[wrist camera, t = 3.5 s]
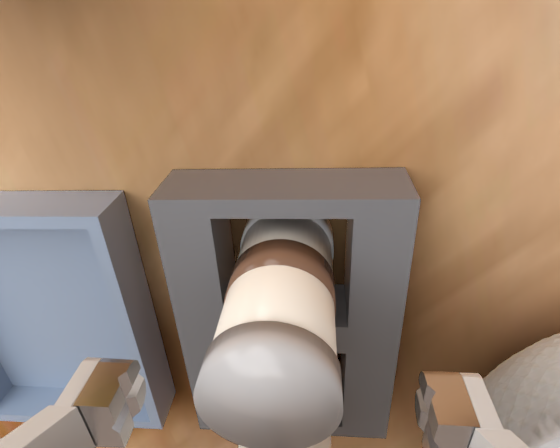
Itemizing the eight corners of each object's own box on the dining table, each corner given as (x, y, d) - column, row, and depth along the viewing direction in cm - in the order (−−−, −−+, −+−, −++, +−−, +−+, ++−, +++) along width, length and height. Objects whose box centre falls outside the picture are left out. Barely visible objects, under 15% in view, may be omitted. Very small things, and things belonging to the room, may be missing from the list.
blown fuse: (332, 274, 20) (340, 455, 12) (248, 272, 20) (204, 447, 12) (334, 197, 18) (346, 357, 10) (240, 197, 18) (181, 351, 10)
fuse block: (378, 389, 24) (408, 583, 16) (212, 382, 25) (163, 562, 17) (404, 167, 17) (479, 318, 9) (172, 169, 18) (58, 308, 10)
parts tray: (175, 392, 25) (162, 429, 23) (12, 384, 26) (-15, 420, 24) (123, 190, 18) (97, 216, 16) (-95, 191, 19) (-146, 216, 17)
